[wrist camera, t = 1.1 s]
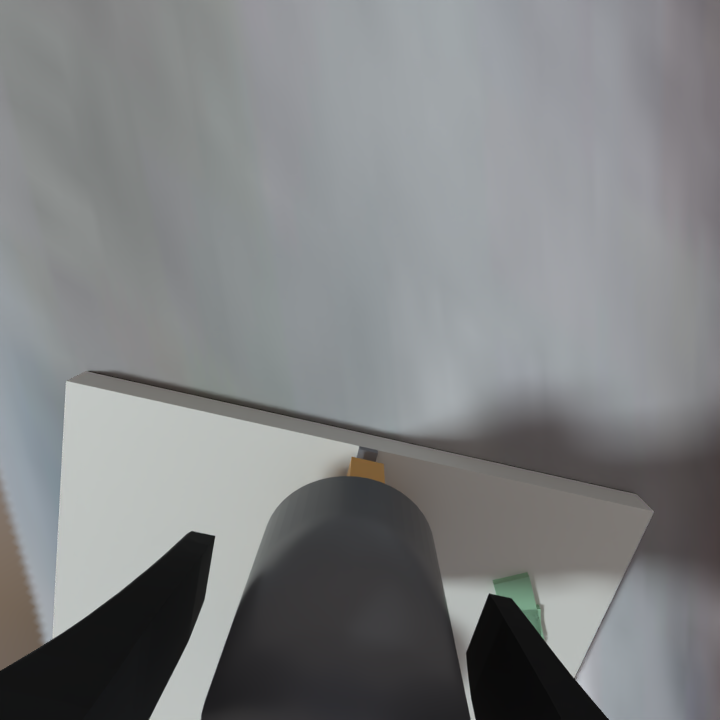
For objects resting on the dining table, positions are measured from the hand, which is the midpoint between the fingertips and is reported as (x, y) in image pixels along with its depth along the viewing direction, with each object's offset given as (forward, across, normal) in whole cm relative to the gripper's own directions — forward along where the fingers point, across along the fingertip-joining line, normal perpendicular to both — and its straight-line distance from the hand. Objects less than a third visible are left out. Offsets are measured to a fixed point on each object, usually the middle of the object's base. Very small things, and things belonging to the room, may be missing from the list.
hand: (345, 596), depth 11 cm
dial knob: (+3, 0, +3) cm, 4 cm away
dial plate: (+4, 0, +6) cm, 7 cm away
